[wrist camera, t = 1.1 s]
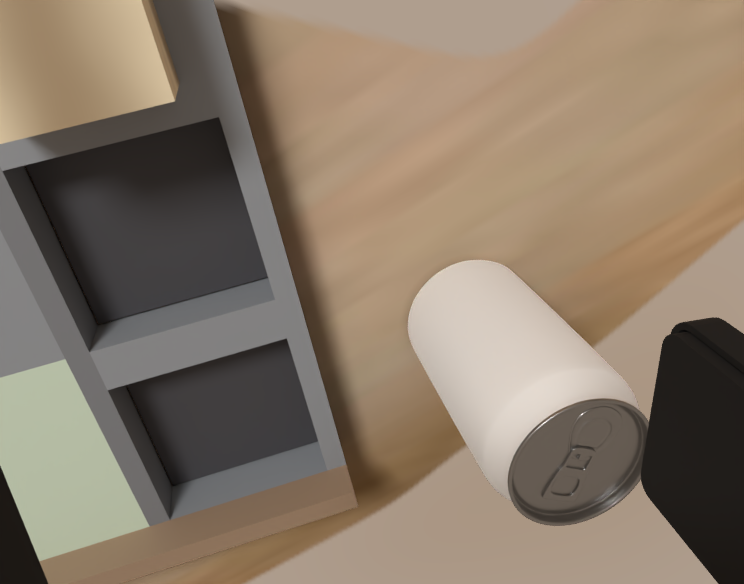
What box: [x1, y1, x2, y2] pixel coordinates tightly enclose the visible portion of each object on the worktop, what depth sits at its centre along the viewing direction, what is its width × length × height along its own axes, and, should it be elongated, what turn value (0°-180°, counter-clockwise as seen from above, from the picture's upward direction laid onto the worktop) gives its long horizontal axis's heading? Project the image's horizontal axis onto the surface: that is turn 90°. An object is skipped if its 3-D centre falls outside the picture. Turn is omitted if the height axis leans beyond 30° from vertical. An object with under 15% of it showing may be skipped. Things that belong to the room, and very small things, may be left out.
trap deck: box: [0, 0, 358, 584], centre depth 26 cm, size 20×28×4 cm
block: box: [0, 0, 179, 144], centre depth 20 cm, size 6×6×4 cm
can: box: [408, 260, 649, 526], centre depth 29 cm, size 6×6×12 cm
